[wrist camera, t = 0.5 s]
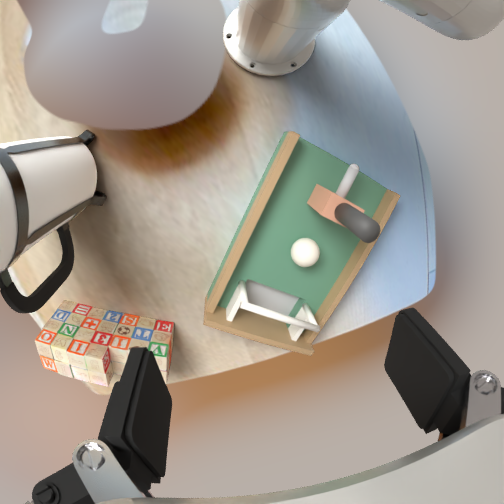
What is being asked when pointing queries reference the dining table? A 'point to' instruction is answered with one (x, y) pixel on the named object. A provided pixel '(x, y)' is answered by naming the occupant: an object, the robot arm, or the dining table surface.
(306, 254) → the ball
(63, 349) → the stack of blocks
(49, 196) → the coffee press
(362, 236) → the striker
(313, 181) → the pitch
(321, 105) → the dining table surface
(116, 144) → the dining table surface
